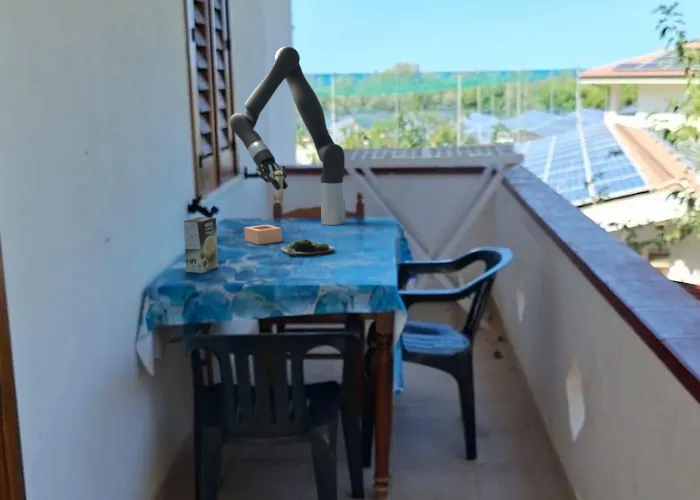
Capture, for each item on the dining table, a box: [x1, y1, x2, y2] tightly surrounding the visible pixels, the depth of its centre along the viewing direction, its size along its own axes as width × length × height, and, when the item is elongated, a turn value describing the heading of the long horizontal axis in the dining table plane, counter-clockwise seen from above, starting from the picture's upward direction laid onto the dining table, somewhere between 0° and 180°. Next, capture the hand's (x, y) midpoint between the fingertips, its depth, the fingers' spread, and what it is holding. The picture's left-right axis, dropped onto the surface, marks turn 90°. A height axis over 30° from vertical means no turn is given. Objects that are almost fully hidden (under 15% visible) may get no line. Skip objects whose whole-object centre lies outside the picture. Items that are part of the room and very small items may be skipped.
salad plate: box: [281, 238, 335, 257], centre depth 274 cm, size 19×18×5 cm
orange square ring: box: [244, 224, 283, 246], centre depth 293 cm, size 10×10×5 cm
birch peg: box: [274, 171, 284, 204], centre depth 304 cm, size 3×3×12 cm
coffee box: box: [183, 216, 219, 274], centre depth 246 cm, size 9×6×16 cm
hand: (282, 188), depth 302 cm, fingers closed on birch peg, 3 cm apart
